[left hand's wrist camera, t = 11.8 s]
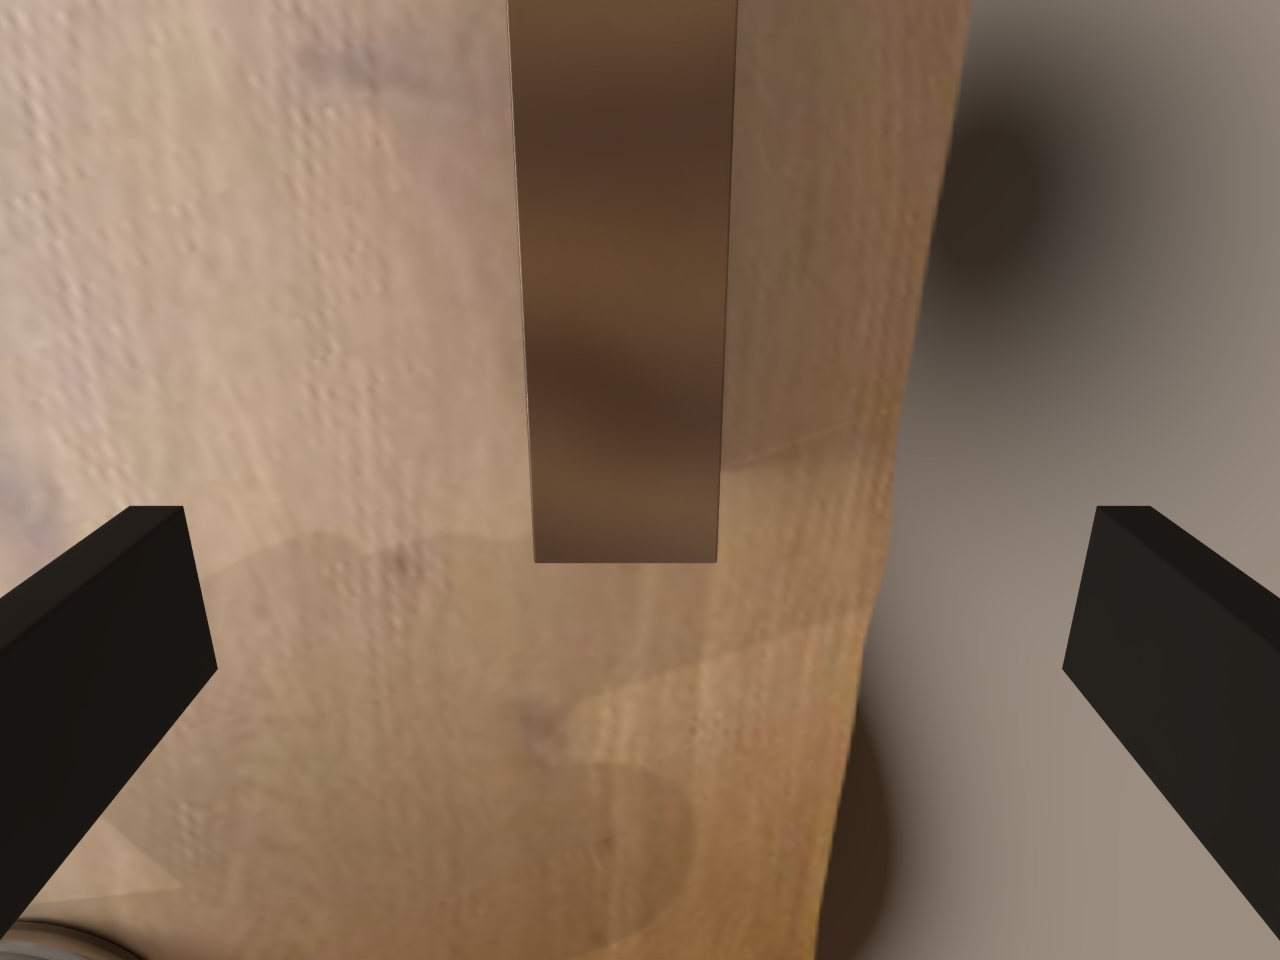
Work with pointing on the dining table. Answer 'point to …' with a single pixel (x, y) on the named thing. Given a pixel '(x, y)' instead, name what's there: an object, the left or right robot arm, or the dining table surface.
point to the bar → (623, 270)
